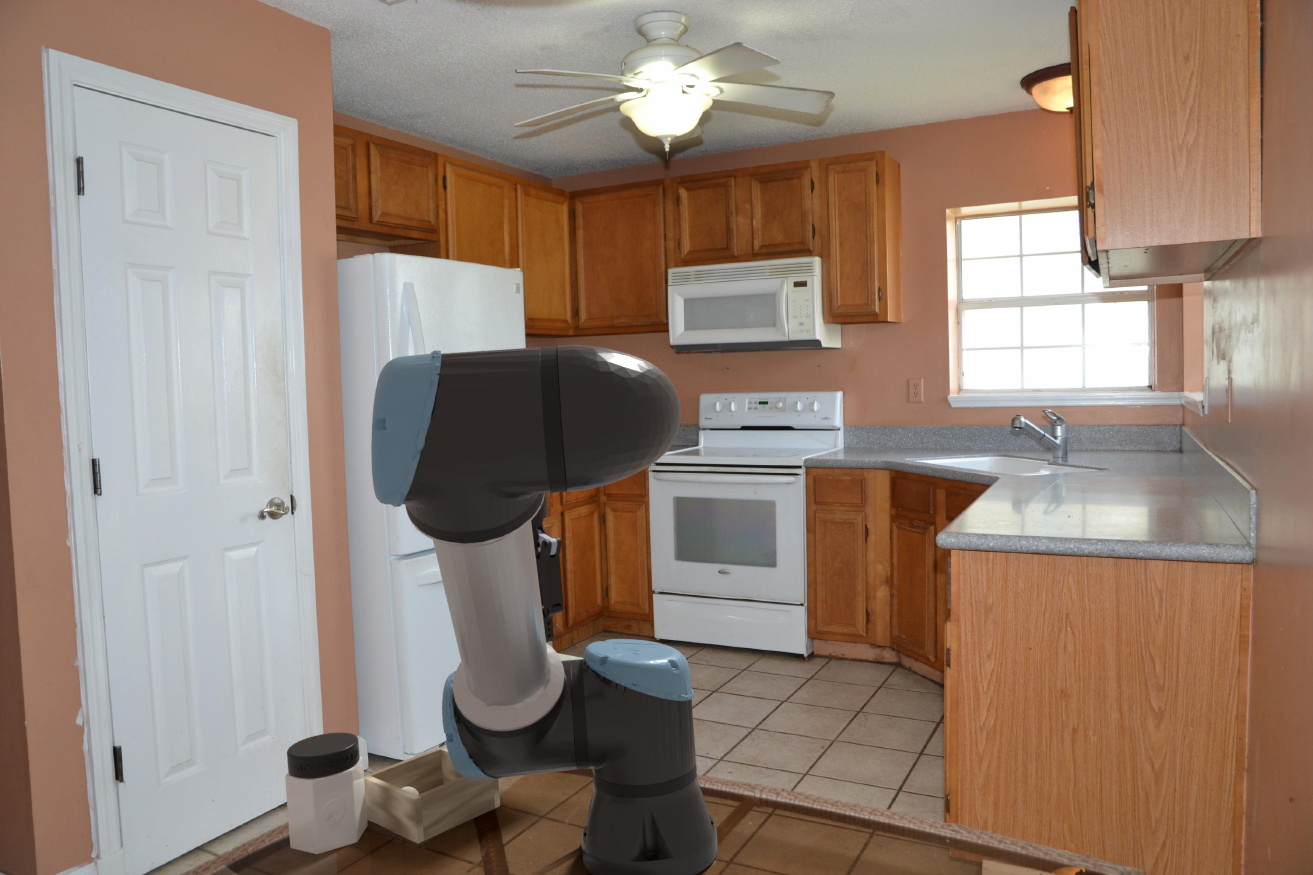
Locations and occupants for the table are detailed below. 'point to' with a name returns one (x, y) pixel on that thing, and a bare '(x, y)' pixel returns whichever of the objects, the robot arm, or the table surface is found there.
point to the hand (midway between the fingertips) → (530, 662)
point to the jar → (325, 792)
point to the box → (426, 796)
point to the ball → (411, 790)
